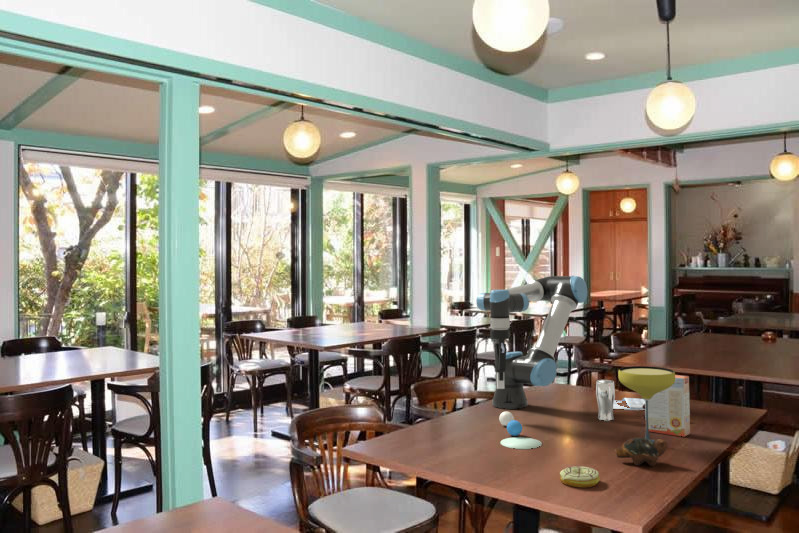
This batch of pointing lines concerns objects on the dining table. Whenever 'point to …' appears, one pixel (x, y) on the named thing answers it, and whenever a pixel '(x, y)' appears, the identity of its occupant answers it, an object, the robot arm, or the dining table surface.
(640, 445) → the decorative turtle
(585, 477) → the decorated donut
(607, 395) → the beer glass
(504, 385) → the robot arm
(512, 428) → the blue object ball
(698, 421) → the dining table surface
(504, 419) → the white cue ball
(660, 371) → the cocktail glass
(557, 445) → the dining table surface
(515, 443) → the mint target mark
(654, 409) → the cracker box
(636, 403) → the snack bag
